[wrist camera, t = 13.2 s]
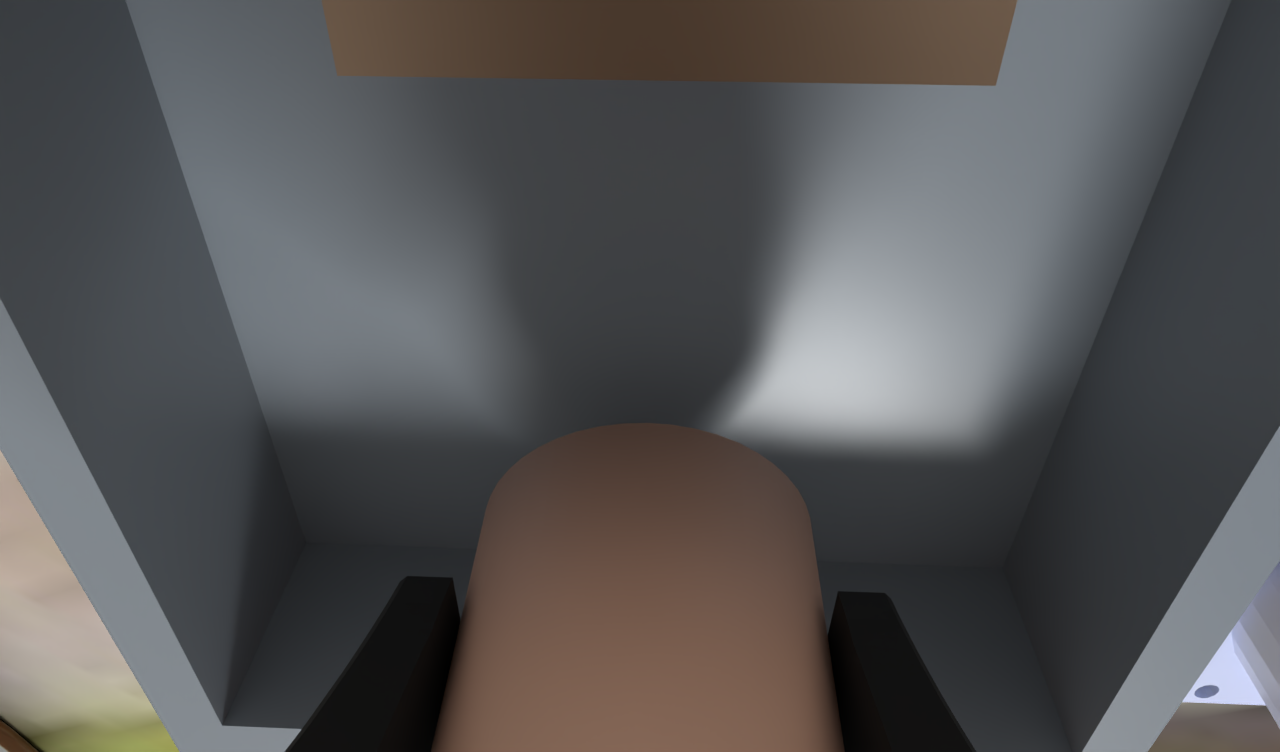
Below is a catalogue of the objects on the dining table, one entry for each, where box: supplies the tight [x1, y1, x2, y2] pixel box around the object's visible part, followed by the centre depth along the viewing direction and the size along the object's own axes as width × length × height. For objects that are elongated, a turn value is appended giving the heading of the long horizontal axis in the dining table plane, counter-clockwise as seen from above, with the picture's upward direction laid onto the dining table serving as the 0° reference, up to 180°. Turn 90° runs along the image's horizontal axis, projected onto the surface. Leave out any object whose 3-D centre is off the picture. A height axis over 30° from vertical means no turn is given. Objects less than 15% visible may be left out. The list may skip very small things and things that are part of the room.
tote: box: [0, 0, 1280, 752], centre depth 11 cm, size 16×20×5 cm
